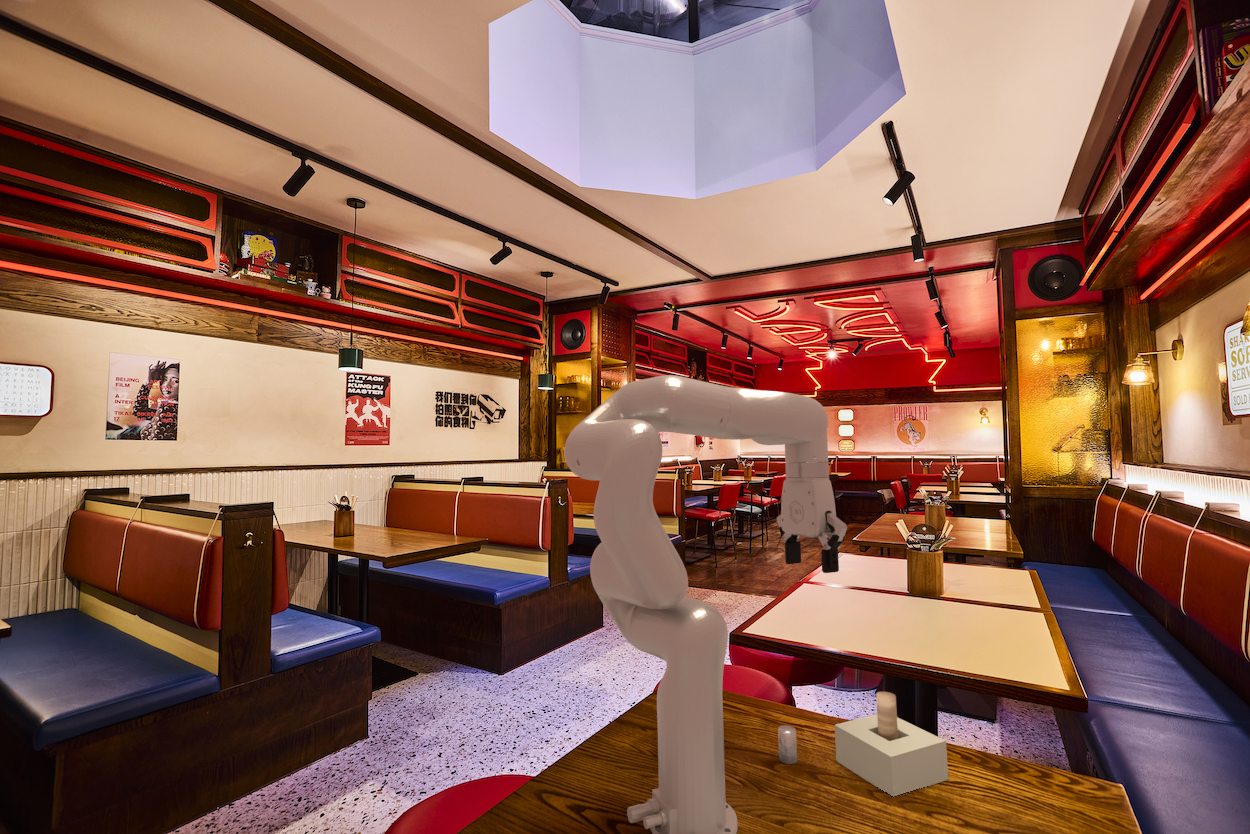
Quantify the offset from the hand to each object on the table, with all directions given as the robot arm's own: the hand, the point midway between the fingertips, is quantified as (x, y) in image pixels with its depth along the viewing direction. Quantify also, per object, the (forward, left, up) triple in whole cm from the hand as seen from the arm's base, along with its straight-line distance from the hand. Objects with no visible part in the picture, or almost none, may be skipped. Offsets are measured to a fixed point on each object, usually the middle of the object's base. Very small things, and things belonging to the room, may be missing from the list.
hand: (811, 567), depth 104 cm
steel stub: (-6, +1, -32) cm, 33 cm away
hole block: (+7, -9, -32) cm, 34 cm away
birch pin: (+7, -9, -32) cm, 34 cm away
